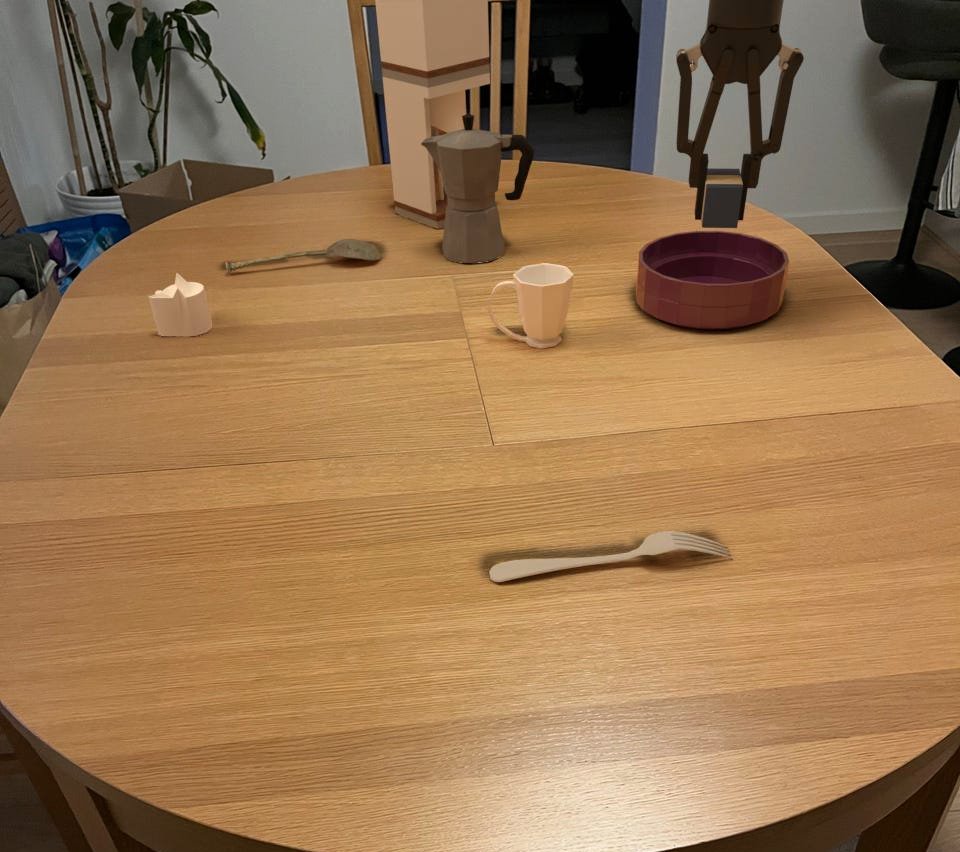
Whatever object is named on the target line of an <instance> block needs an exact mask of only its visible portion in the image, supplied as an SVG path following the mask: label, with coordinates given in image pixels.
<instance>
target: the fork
mask: <svg viewBox="0 0 960 852" xmlns="http://www.w3.org/2000/svg"><path fill="white" fill-rule="evenodd" d="M675 550H681V551H682V550H683V551H694V552H699V553H705V554H709V555H715V556H718V557H723V558H726V559H731V560H733V559H734V557H733V556H731V555H732V553H731V552H730V550H729V549H728V545H725V544H723V543H720V542H717V541H715V540H711V539H709V538H706V537H702V536H699V535H695V534H692V533H688V532H683V531H677V530H662V531H658V532H655V533H652V534H649V535H648V536H647V537H646V538H644V539H643V542H642V543H641V544H640V545H639V546H638V548H635V549H633V550H631V551H627V552H623V553H622V552H621V553H616V554H607V555H598V556H597V555H596V556H586V557H585V556H583V557H558V558H557V557H555V558H526V559H514V560H513V559H512V560H507V561H504V562H500V563H496V564H494V565H493V566H492V567H491V568H490V570H489V571H488V573H489V574H488V575H489V579H490V581H492V582H494V583H503V582H507V581H511V580H516V579H521V578H526V577H531V576H535V575H540V574H545V573H550V572H551V573H552V572H555V571H556V572H557V571H561V570H567V569H572V568H580V567H585V566H595V565H603V564H609V563H615V562H621V561H626V560H630V559H633V558H636V557H640V556H645V555H646V556H647V555H648V556H656V555H660V554H662V553H663V554H664V553H667V552H670V551H671V552H673V551H675Z"/></svg>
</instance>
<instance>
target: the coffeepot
mask: <svg viewBox="0 0 960 852" xmlns="http://www.w3.org/2000/svg"><path fill="white" fill-rule="evenodd" d="M462 119H463V124H464V129H462V130H458V131H453V132H449V133H447V134H445V135H440V136H434V137H430V138H426V139H425V140H424V141H423V142H422V143H421V145H422V146H424V147H425V148H426V149H427V150H428V152H429V153H430V155H431V156H432V158H433V160H434V161H435V163H436V165H437V166H438V168H439V170H440V171H441V175H442V180H443V185H444V190H445V193H446V194H447V202H448V206H447V207H446V215H445V225H444V228H443V237H442V247H441V249H442V253H443V256H444V255H445V256H444V258H445V257H446V258H445V259H446V260H448V261H450V260H452V261H456V262H462V263H478V262H486V261H491V262H493V261H495V260H494V259H496V258H497V257H499V256H501V255H502V254H503V253H504V254H505V253H506V248H505V242H504V237H503V231H502V225H501V221H500V214H499V209H498V206H497V204H496V193H497V192H498V191H499V183H500V182H499V181H500V176H501V175H500V173H501V165H502V158H503V157H502V155H503V153H506V152H512V151H519V152H520V153H521V156H520V159H519V162H518V169H517V170H518V171H517V174H516V175H515V178H514V188H513V191H511V192H504V197H505V199H506V200H507V201H519V200H520V199H521V197H522V195H523V191H524V188H525V186H526V182H527V179H528V176H529V173H530V169H531V166H532V164H533V161H534V157H535V149H534V146H533V145H532V144H531V142H530V141H529V140H528V139H527V138H526V137H525V135H523V134H500V133H499V132H497V131H496V132H495V131H489V130H483V129H477V128H474V121H475V115H474V114H471V113H466V115H464V116H462ZM502 256H503V255H502ZM502 256H501V257H502ZM499 258H500V257H499ZM492 260H493V261H492ZM496 260H497V259H496ZM452 261H451V262H452ZM456 262H455V263H456ZM486 263H487V262H486Z"/></svg>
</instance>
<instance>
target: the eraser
mask: <svg viewBox="0 0 960 852" xmlns="http://www.w3.org/2000/svg"><path fill="white" fill-rule="evenodd" d="M742 190H743V183H742V178H741V169H740V168H713V167H712V168H711V167H708V170H707V178H706V183H705V192H704V201H703V209H702V218H701V220H700V224H701V228H703V229H738V226H739V225H738V224H739V220H738V219H739V211H740V204H741V197H742Z"/></svg>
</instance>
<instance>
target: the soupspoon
mask: <svg viewBox="0 0 960 852" xmlns="http://www.w3.org/2000/svg"><path fill="white" fill-rule="evenodd" d="M311 256H312V257H313V256H315V257H316V256H332V257H340V258H341V257H342V258H350V259H358V260H365V261H380V260H381V259H382V258H383V256H382V254H381V253H380V251H379V250H378V249H377V248H375V247H374V246H373V245H371V244H370V243H368V242H366V241H364V240H361V239H356V238H344V239H341V240H337V241H335V242H333V243H332V244H330V245H329V246H328V247H327V248H326V249H319V250H307V251H306V250H305V251H297V252H291V253H286V254H280V255H274V256H268V257H266V256H265V257H262V258H257V259H256V258H255V259H252V260H247V259H244V261H237V262H230V264H229V263H228V261H225V267H226V270H227V272H228V274H229V275H230V274H231V275H232V271H233V272H236V270H239V269H243V268H244V267H249V266H250V265H254V264H255V265H256V264H260V263H268V262H273V261H280V260H287V259H293V258H302V257H311Z"/></svg>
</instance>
